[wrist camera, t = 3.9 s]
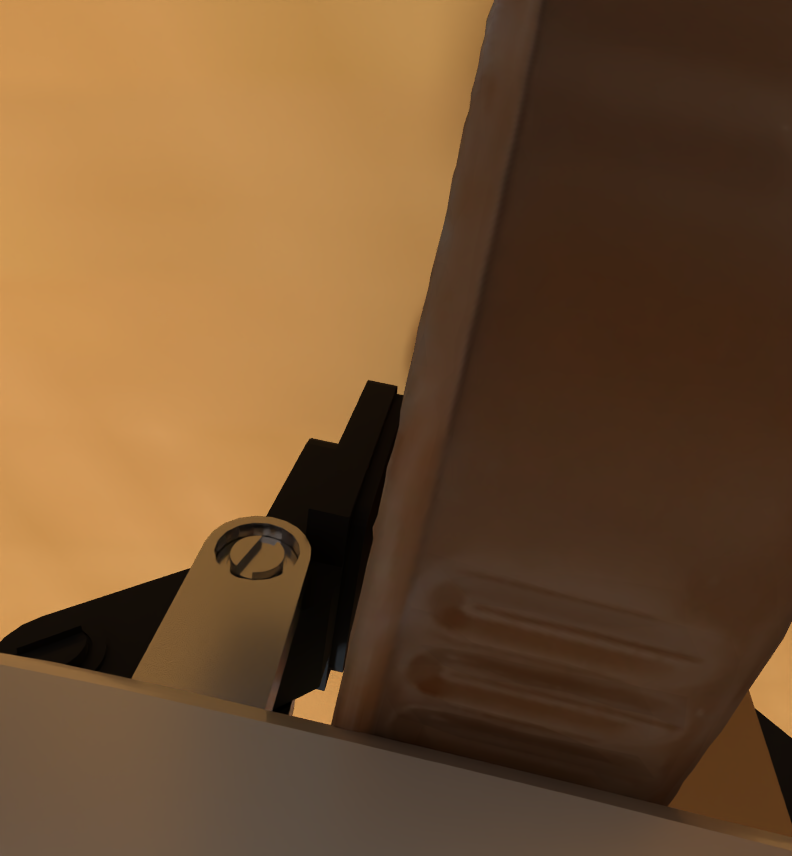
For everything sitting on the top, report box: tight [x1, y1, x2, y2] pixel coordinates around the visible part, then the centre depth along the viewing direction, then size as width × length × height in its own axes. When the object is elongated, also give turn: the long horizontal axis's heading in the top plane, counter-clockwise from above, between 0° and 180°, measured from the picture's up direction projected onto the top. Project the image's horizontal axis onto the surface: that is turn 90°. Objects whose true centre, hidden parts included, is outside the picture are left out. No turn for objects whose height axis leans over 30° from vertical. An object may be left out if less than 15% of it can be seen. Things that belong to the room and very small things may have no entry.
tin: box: [331, 0, 792, 807], centre depth 9 cm, size 15×3×8 cm, turn 169°
